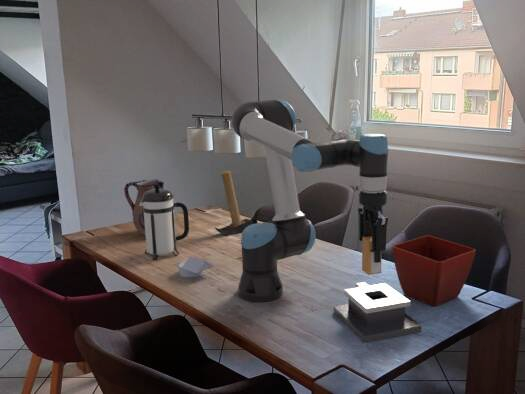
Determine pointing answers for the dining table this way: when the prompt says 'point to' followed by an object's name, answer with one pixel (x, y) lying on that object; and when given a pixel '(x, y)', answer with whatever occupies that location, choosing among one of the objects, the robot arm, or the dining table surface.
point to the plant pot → (432, 268)
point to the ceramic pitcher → (136, 209)
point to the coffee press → (161, 222)
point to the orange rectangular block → (367, 255)
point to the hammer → (233, 209)
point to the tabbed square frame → (376, 312)
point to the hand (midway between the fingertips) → (371, 269)
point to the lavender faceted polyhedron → (193, 267)
